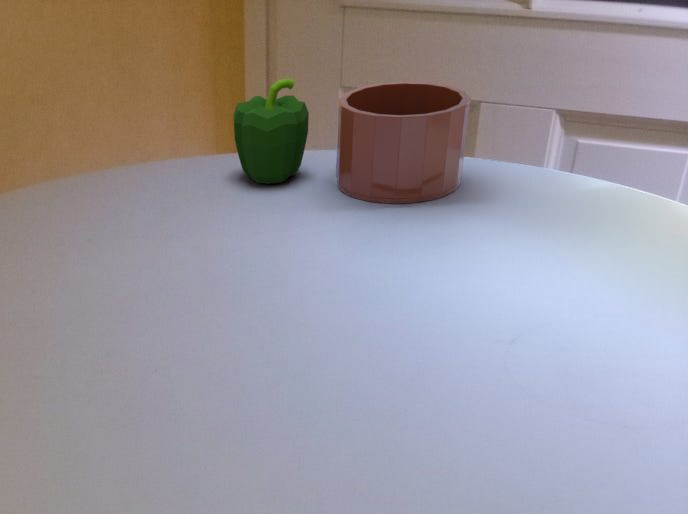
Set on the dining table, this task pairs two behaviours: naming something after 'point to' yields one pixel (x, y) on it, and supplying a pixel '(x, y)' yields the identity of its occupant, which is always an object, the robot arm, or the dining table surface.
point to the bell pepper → (271, 134)
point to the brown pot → (401, 141)
